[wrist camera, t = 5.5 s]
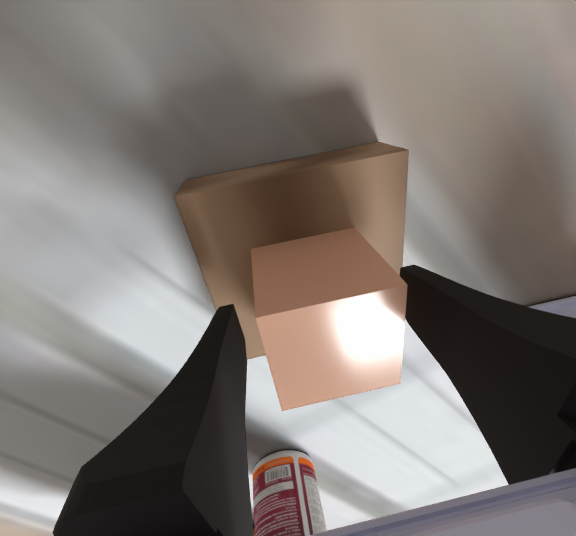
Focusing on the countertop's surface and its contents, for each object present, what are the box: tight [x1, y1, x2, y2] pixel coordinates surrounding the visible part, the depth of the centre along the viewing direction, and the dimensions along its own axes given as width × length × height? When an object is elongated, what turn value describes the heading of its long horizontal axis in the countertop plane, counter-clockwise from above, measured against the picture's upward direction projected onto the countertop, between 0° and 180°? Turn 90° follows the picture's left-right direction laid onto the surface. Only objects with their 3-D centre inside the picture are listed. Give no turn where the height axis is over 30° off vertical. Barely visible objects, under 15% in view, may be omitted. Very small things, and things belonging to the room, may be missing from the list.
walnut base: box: [174, 142, 409, 359], centre depth 16 cm, size 10×10×3 cm
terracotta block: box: [251, 227, 407, 411], centre depth 13 cm, size 5×5×5 cm
